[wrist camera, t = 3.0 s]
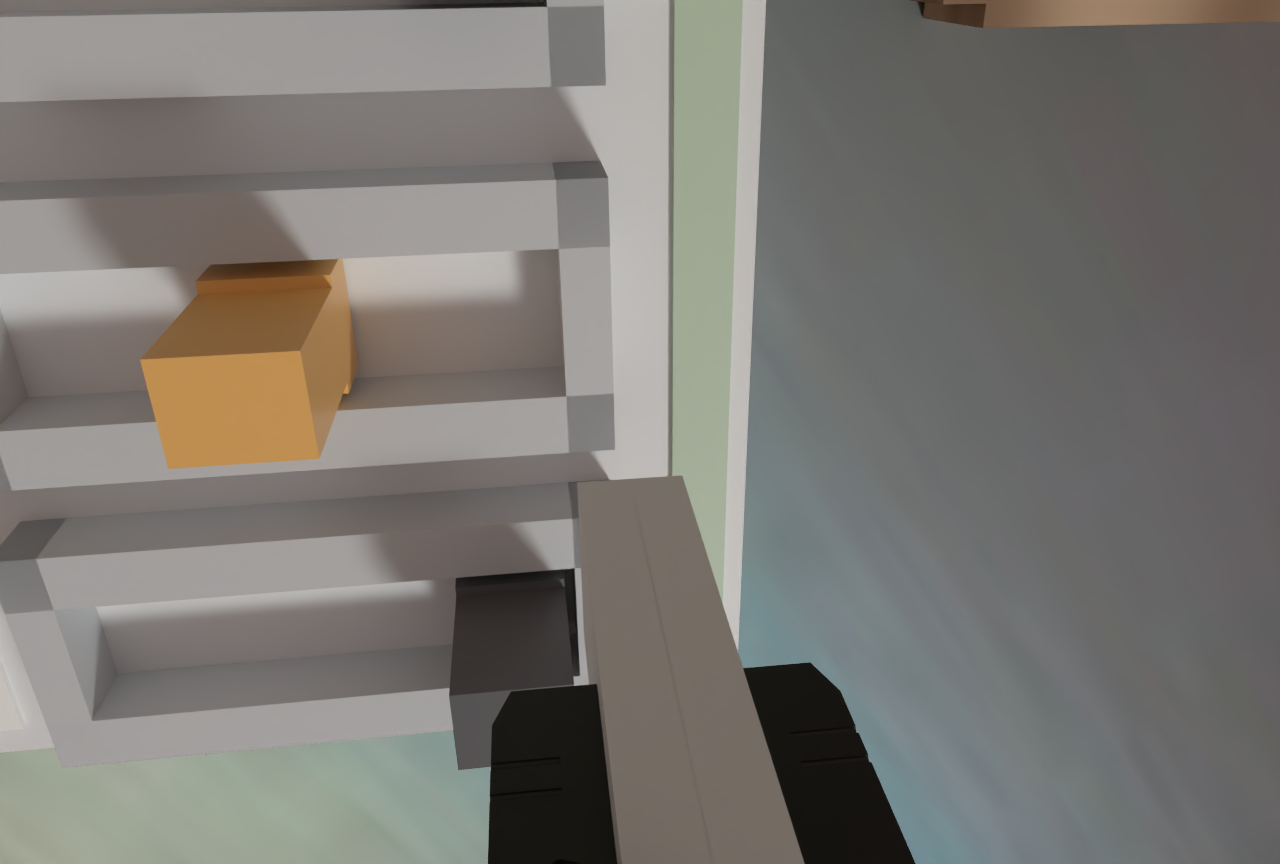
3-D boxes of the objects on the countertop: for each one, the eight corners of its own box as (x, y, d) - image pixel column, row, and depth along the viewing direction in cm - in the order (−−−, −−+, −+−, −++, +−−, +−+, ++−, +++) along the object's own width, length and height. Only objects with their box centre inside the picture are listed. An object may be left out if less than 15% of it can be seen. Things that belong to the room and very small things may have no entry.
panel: (-18, 721, 31) (-77, 808, 28) (-460, -348, 19) (-651, -407, 16) (727, 653, 33) (750, 725, 30) (763, -326, 21) (807, -373, 18)
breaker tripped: (239, 371, 25) (171, 481, 20) (216, 258, 24) (136, 345, 19) (358, 365, 25) (321, 471, 20) (341, 253, 24) (297, 336, 19)
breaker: (466, 634, 30) (459, 778, 24) (457, 551, 28) (447, 686, 23) (565, 625, 30) (578, 766, 25) (560, 543, 29) (573, 674, 23)
